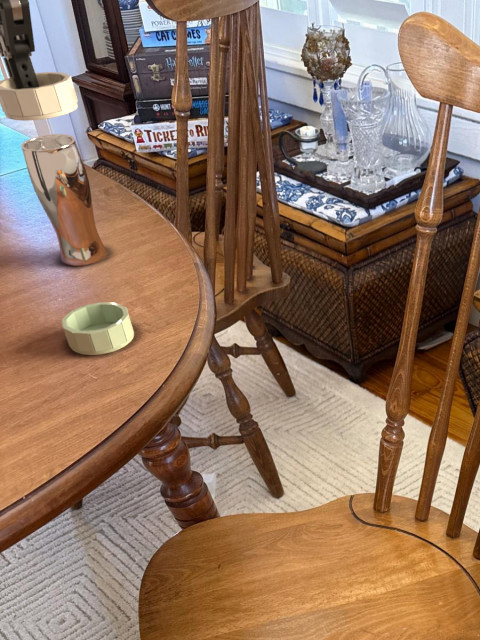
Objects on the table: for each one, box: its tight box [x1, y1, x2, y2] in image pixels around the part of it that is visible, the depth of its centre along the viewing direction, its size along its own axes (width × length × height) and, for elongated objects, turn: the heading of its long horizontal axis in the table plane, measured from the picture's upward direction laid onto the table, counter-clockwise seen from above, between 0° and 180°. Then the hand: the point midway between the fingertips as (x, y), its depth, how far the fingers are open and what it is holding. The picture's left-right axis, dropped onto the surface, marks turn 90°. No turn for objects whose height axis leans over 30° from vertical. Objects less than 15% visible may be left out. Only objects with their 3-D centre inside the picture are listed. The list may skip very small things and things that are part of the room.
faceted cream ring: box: [0, 71, 79, 122], centre depth 82 cm, size 7×7×3 cm
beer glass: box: [20, 133, 107, 267], centre depth 104 cm, size 7×7×15 cm
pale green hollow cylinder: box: [61, 301, 135, 356], centre depth 91 cm, size 7×7×3 cm
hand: (29, 96), depth 84 cm, fingers closed on faceted cream ring, 1 cm apart
